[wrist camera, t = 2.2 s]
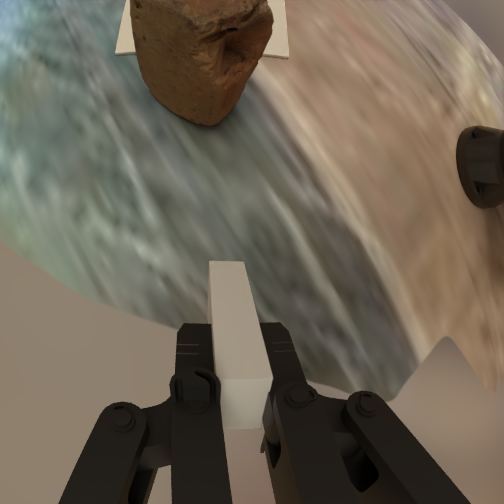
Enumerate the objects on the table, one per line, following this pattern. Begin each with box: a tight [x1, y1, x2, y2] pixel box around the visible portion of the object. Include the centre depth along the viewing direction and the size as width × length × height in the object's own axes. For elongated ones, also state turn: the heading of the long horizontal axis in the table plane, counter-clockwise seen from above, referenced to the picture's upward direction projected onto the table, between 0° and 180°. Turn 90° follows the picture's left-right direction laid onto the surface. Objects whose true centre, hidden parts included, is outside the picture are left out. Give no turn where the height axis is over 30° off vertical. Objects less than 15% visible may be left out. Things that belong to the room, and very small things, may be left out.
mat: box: [115, 0, 289, 59], centre depth 31 cm, size 22×16×1 cm
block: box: [130, 0, 274, 125], centre depth 23 cm, size 11×8×20 cm
